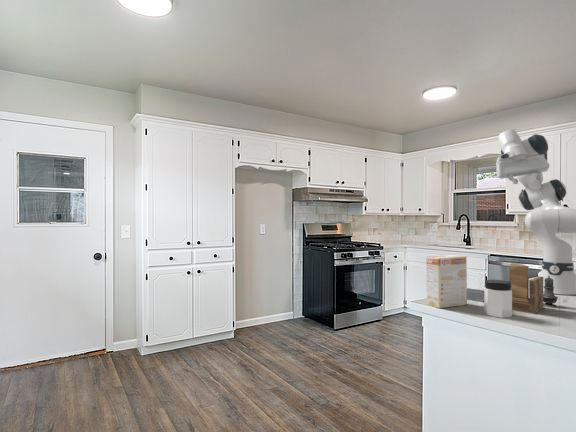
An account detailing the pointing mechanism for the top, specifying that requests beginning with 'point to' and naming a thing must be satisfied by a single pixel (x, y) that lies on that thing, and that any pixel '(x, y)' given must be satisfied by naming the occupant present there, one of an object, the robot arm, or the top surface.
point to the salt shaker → (549, 293)
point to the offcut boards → (520, 300)
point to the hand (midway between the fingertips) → (527, 181)
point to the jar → (498, 298)
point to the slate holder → (475, 295)
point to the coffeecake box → (446, 281)
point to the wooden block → (519, 281)
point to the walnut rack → (532, 297)
